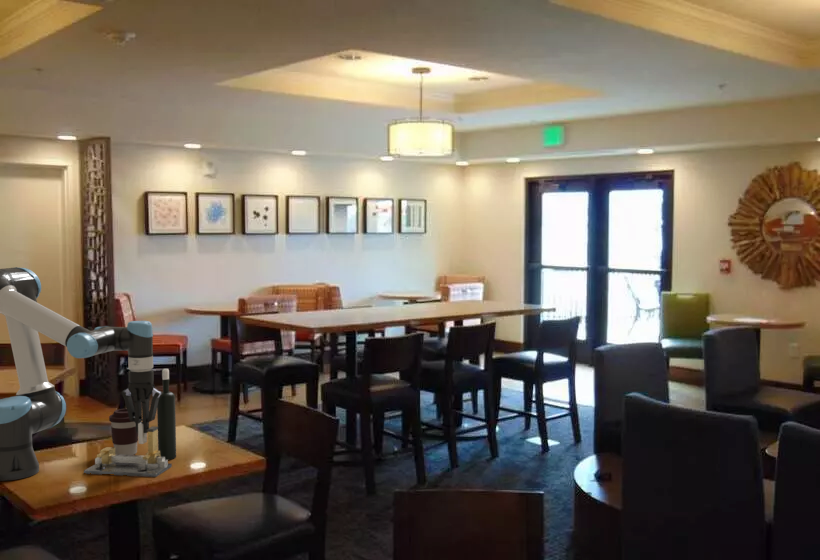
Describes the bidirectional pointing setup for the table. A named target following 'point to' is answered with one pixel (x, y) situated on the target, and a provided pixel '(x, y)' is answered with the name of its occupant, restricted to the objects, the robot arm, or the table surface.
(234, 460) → the table surface
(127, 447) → the coffee cup
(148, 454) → the sliding leg
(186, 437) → the table surface
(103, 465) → the trammel plate
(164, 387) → the wine bottle
